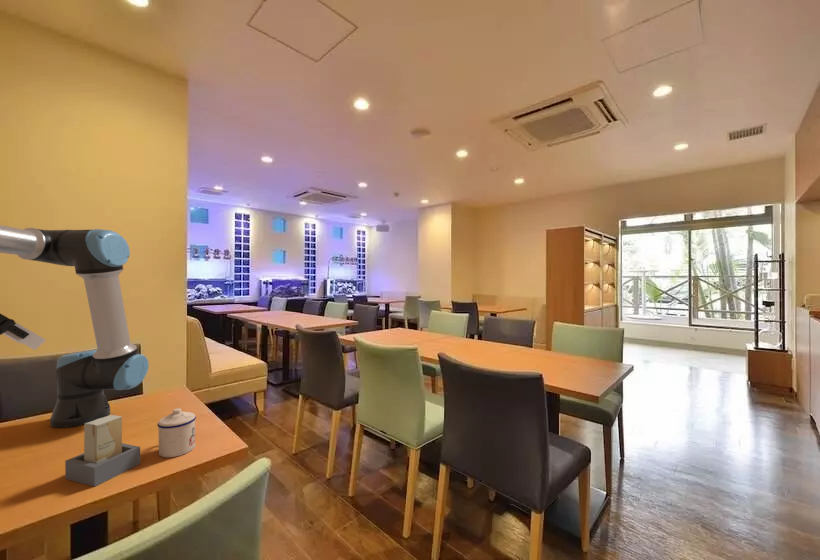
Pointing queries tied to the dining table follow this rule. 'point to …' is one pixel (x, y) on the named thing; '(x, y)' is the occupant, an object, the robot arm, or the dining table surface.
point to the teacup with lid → (176, 433)
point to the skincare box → (102, 439)
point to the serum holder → (102, 466)
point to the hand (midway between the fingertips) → (32, 341)
